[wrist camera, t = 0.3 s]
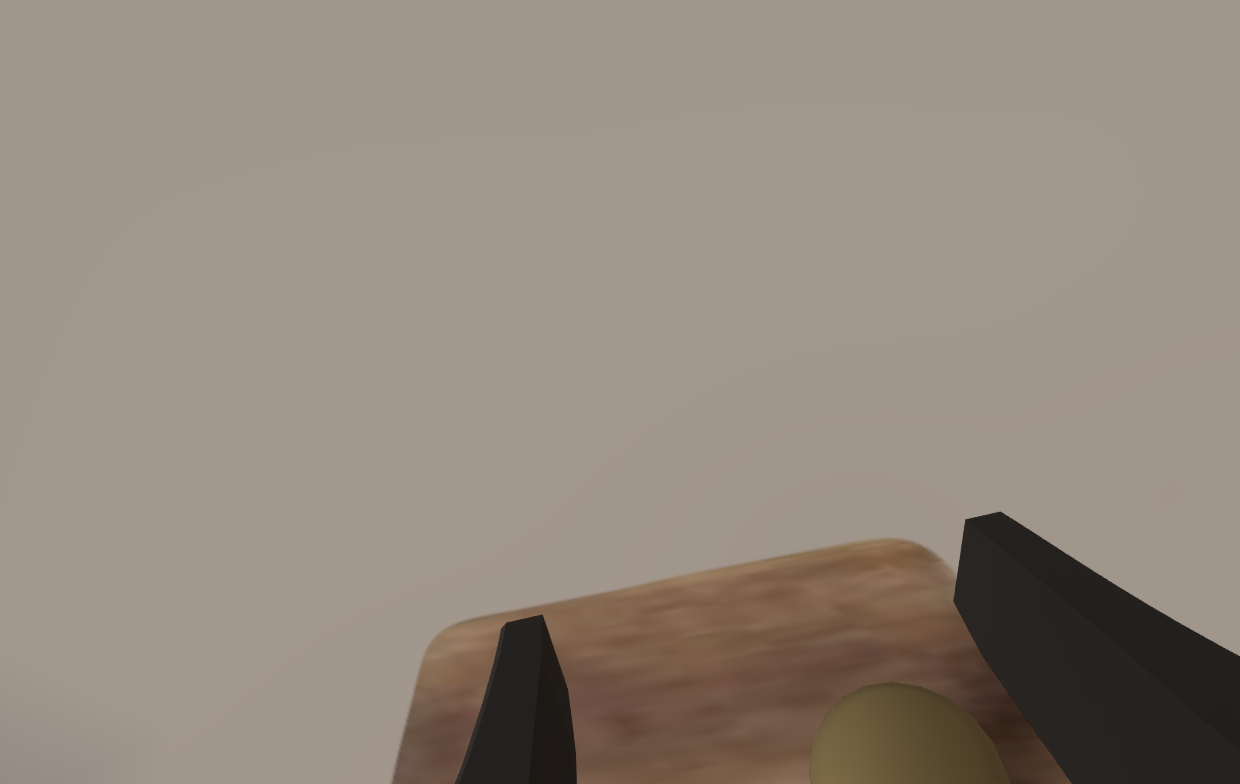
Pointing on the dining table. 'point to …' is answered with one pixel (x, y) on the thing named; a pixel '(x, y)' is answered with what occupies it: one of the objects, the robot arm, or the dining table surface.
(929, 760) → the cork
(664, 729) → the dining table surface
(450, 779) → the dining table surface
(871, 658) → the dining table surface
